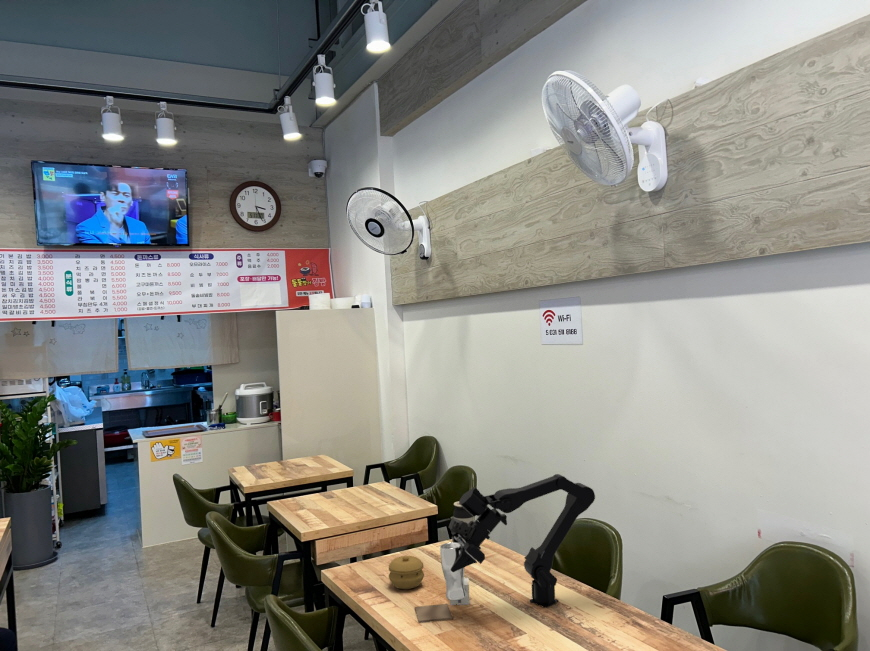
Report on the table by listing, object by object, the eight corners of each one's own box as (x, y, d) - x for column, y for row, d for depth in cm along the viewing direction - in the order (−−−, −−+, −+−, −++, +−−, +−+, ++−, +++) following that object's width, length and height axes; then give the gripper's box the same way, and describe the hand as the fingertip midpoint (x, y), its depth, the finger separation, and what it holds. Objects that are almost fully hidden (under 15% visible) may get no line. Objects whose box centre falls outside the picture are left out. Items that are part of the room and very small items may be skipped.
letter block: (469, 605, 197) (468, 585, 198) (449, 605, 198) (449, 585, 198) (469, 596, 204) (468, 577, 204) (450, 597, 204) (449, 578, 204)
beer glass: (468, 600, 188) (462, 547, 188) (444, 602, 188) (439, 550, 188) (467, 591, 195) (462, 540, 195) (444, 593, 195) (439, 543, 195)
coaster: (447, 605, 198) (447, 603, 198) (453, 619, 188) (453, 617, 188) (414, 608, 196) (414, 606, 196) (418, 622, 186) (418, 620, 186)
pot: (384, 592, 210) (383, 561, 210) (395, 578, 222) (394, 549, 222) (419, 594, 207) (418, 562, 208) (428, 580, 219) (427, 550, 219)
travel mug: (479, 550, 247) (477, 503, 247) (462, 555, 243) (460, 507, 243) (468, 545, 254) (466, 499, 254) (451, 549, 250) (449, 502, 250)
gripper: (456, 501, 202) (423, 540, 199) (472, 516, 184) (436, 560, 181) (481, 524, 203) (448, 563, 201) (500, 542, 185) (464, 585, 183)
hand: (448, 567), depth 191 cm, fingers closed on beer glass, 7 cm apart
